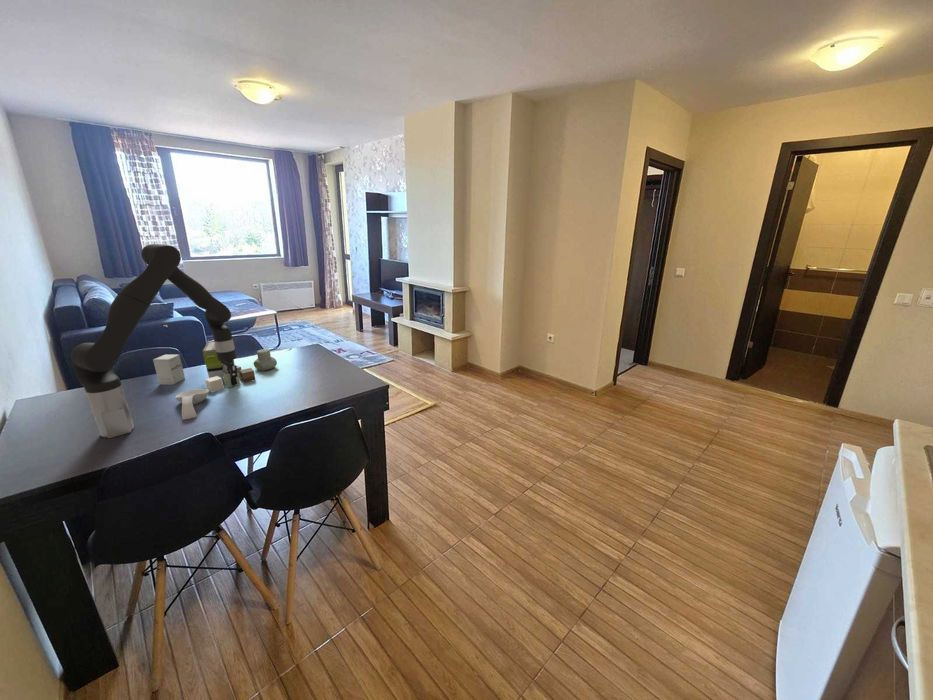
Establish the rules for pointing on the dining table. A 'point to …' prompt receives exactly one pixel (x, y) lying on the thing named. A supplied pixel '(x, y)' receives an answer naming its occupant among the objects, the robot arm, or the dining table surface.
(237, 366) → the slate cube
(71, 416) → the dining table surface
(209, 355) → the tea box
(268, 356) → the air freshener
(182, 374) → the supplement box
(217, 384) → the cream cube
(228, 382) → the sage cube
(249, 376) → the walnut cube
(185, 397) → the spoon rest
